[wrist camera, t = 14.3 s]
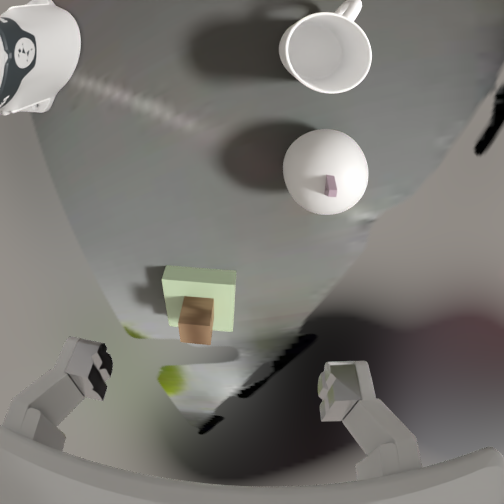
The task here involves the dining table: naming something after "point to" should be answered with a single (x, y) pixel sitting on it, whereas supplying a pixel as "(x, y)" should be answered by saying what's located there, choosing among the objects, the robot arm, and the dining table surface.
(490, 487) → the robot arm
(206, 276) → the base box
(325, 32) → the cup
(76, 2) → the dining table surface
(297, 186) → the ornament
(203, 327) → the walnut block
